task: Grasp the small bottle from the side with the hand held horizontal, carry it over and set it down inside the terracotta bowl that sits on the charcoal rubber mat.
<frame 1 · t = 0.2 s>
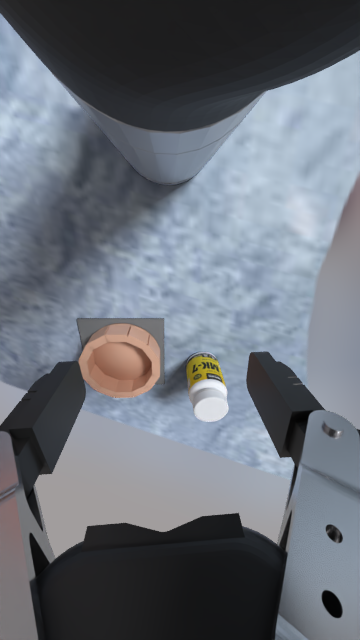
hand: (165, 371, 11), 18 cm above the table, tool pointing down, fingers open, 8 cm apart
supplement bottle: (201, 363, 33), on the table
bowl: (124, 354, 31), resting on mat
mat: (124, 353, 31), on the table
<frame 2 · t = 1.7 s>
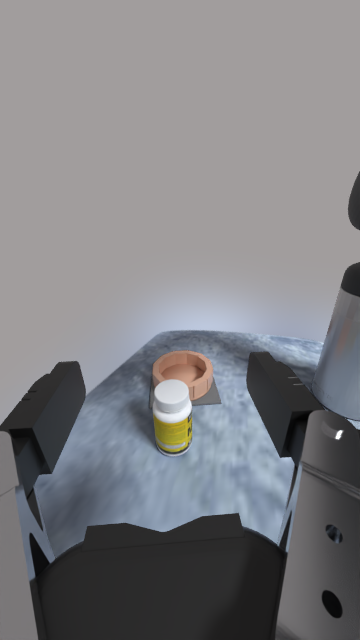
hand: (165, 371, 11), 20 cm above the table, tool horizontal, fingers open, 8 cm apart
supplement bottle: (174, 441, 29), on the table
bowl: (182, 380, 39), resting on mat
mat: (182, 381, 39), on the table
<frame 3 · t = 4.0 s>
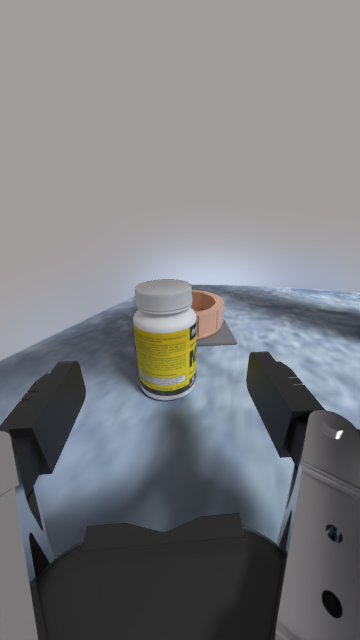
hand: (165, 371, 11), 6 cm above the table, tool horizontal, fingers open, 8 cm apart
supplement bottle: (168, 383, 19), on the table
bowl: (182, 322, 29), resting on mat
mat: (182, 324, 29), on the table
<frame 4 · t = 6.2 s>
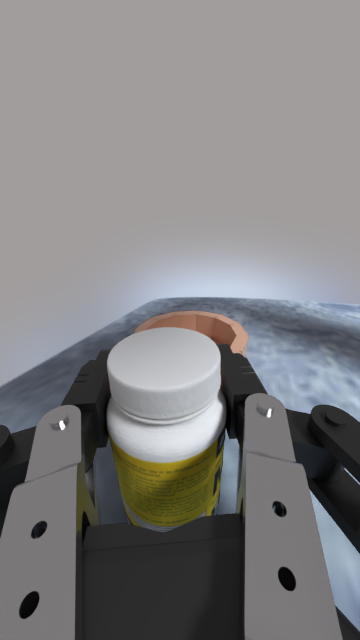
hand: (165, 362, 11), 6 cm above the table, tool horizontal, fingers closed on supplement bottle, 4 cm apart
supplement bottle: (172, 493, 11), on the table, touching gripper
bowl: (189, 359, 21), resting on mat
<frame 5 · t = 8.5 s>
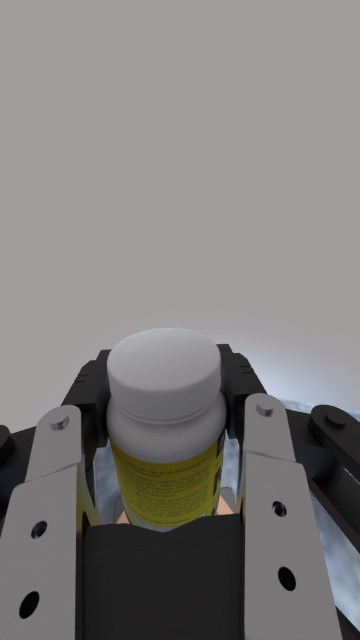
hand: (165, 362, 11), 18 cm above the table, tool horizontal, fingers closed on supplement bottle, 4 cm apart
supplement bottle: (172, 493, 11), point 11 cm above the table, touching gripper
mat: (178, 577, 17), on the table
when the fingers open (8 cm above the table, at t = 11.2 s): supplement bottle drops 1 cm, resting on bowl.
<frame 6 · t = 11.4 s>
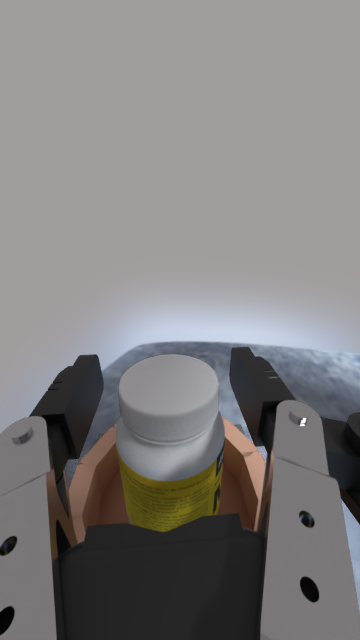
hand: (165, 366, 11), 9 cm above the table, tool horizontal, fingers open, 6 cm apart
supplement bottle: (174, 512, 12), point 1 cm above the table, touching bowl
bowl: (173, 515, 12), resting on mat
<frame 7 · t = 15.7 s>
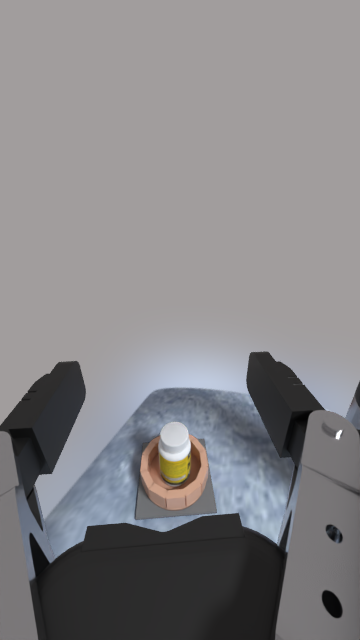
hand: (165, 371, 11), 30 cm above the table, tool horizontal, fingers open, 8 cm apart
supplement bottle: (175, 471, 34), point 1 cm above the table, touching bowl
bowl: (174, 472, 35), resting on mat
mat: (174, 473, 35), on the table
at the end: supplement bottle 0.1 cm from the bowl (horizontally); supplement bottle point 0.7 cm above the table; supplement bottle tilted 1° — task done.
